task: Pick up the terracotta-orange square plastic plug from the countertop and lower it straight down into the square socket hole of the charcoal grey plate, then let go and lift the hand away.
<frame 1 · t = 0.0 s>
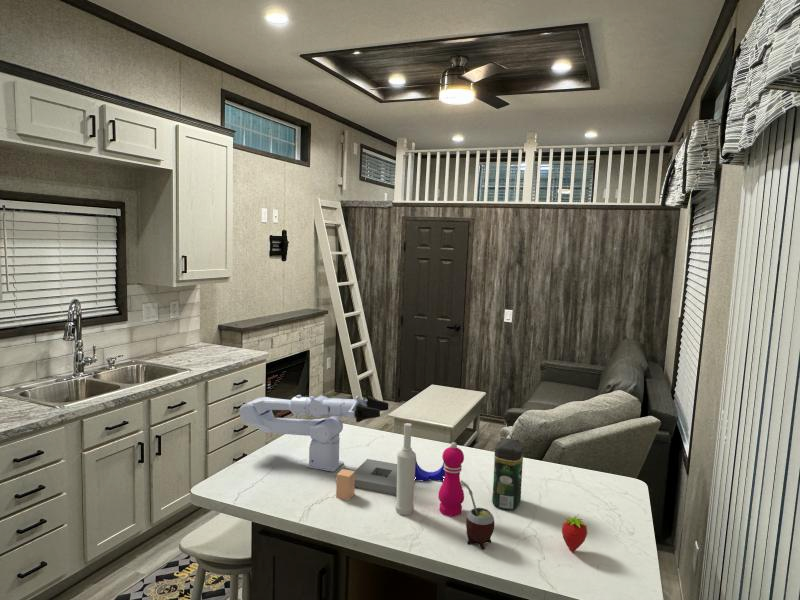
hand: (383, 409, 171), 22 cm above the kitchen island, tool horizontal, fingers open, 7 cm apart
bottle: (404, 511, 151), on the kitchen island
mate gourd: (477, 543, 137), on the kitchen island
plug: (345, 495, 159), on the kitchen island
socket plate: (381, 479, 170), on the kitchen island
pepper mill: (450, 511, 152), on the kitchen island
strawberry: (572, 552, 134), on the kitchen island
cable clip: (428, 480, 173), on the kitchen island, touching socket plate
coffee jar: (505, 503, 158), on the kitchen island
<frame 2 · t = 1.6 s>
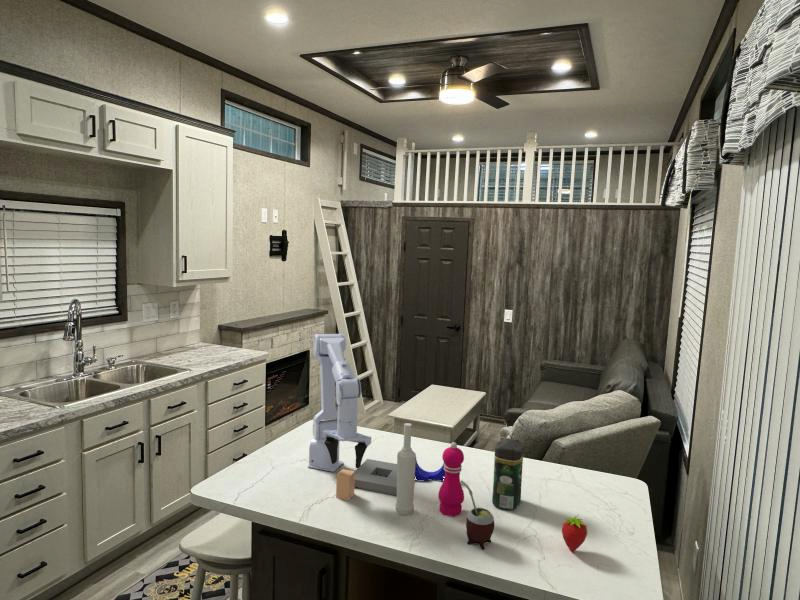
hand: (346, 464, 158), 9 cm above the kitchen island, tool pointing down, fingers open, 7 cm apart
nothing on the kitchen island moved.
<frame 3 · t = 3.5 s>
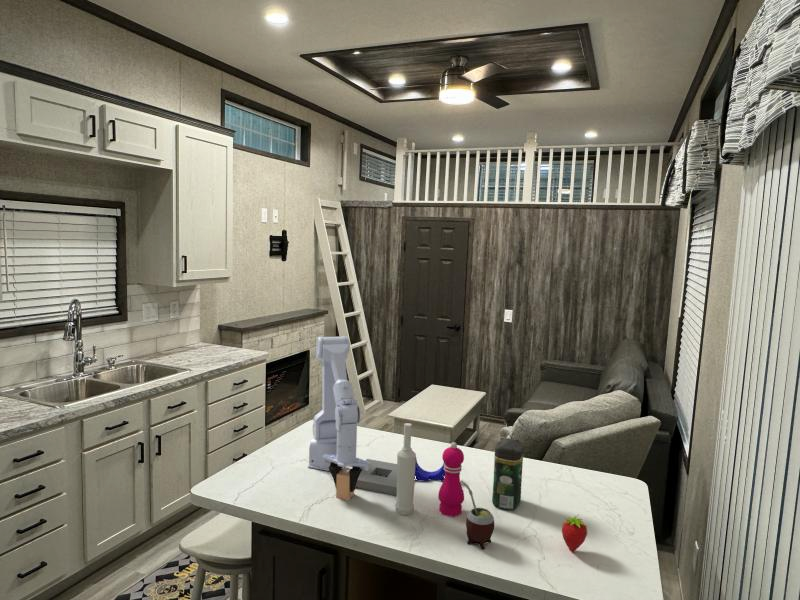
hand: (345, 489, 159), 2 cm above the kitchen island, tool pointing down, fingers closed on plug, 4 cm apart
plug: (345, 495, 159), on the kitchen island, touching gripper
everything else where it was.
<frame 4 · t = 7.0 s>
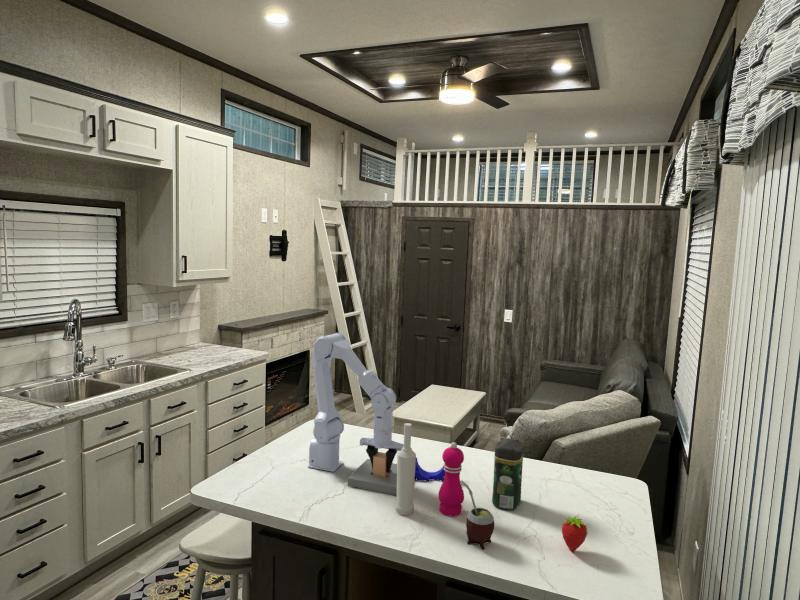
hand: (381, 470, 170), 3 cm above the kitchen island, tool pointing down, fingers closed on plug, 4 cm apart
plug: (380, 476, 170), point 1 cm above the kitchen island, touching gripper
everything else where it was.
when the fingers open (3 cm above the kitchen island, at t = 7.9 s): plug drops 1 cm, resting in socket plate.
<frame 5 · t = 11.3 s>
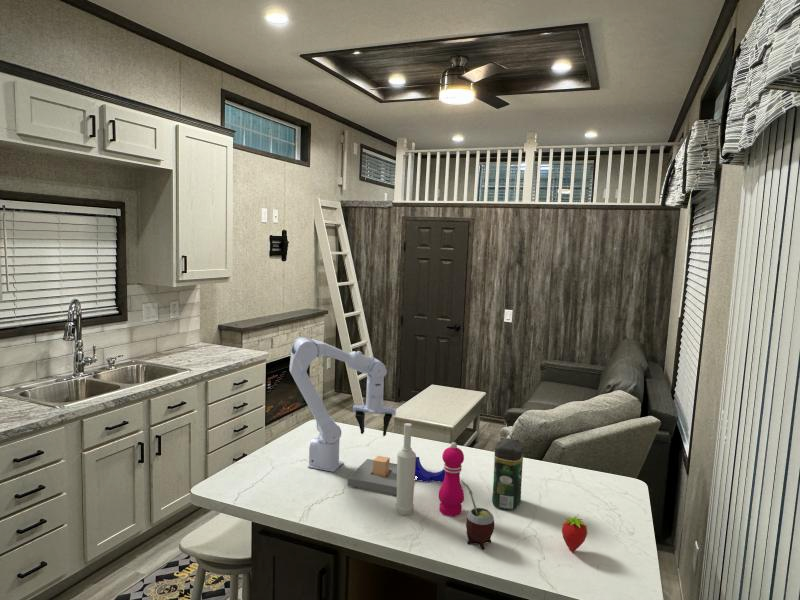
hand: (373, 433, 184), 9 cm above the kitchen island, tool pointing down, fingers open, 7 cm apart
plug: (380, 480, 170), resting in socket plate
cable clip: (430, 480, 172), on the kitchen island
everything else where it was.
at the end: plug 0.2 cm off-centre on the socket plate, point 0.0 cm above the socket plate's base; plug tilted 0°; the gripper is holding nothing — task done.
